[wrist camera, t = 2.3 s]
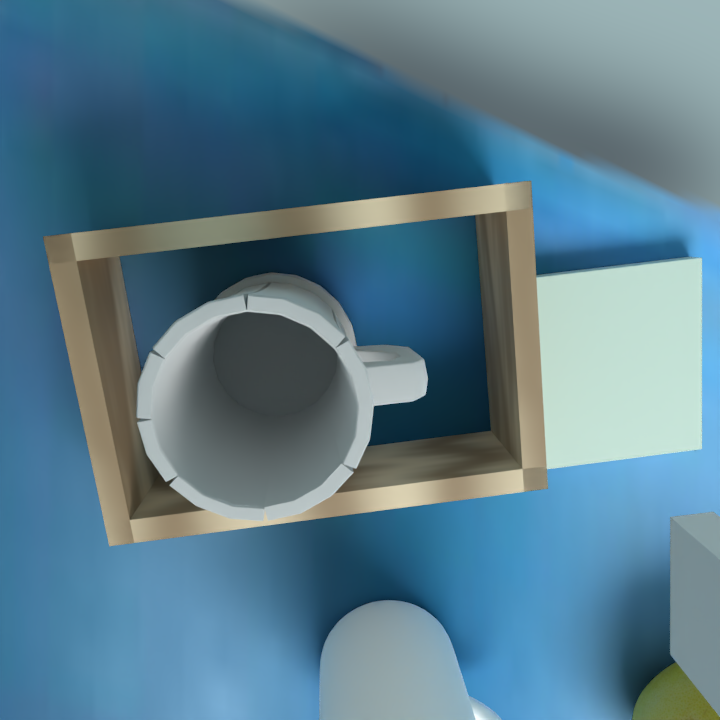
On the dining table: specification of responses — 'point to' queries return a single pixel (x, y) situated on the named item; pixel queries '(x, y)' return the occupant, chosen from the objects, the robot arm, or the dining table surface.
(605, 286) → the mat
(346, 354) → the cup
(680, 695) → the fruit
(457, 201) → the caddy
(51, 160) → the dining table surface
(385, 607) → the cup
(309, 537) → the dining table surface
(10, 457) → the dining table surface
